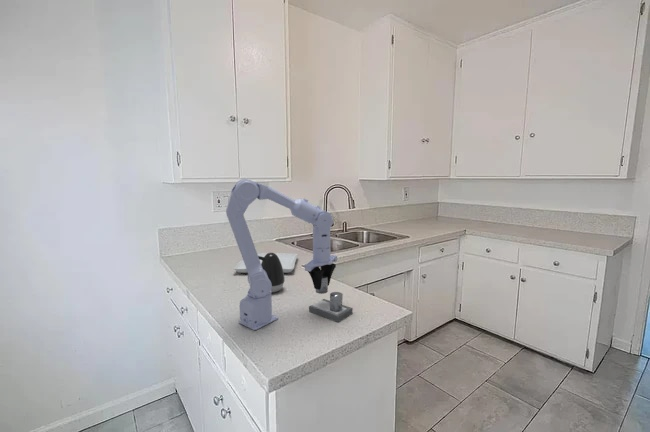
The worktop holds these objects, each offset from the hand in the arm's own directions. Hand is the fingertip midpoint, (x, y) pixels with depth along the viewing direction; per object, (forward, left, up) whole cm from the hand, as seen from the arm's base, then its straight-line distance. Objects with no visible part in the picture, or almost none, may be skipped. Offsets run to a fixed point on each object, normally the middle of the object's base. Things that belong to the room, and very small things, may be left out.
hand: (321, 286), depth 103 cm
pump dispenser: (+2, +27, -9) cm, 28 cm away
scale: (+1, -3, -8) cm, 9 cm away
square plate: (+22, +51, -9) cm, 57 cm away
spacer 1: (0, 0, -2) cm, 2 cm away
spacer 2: (0, -6, -6) cm, 8 cm away
